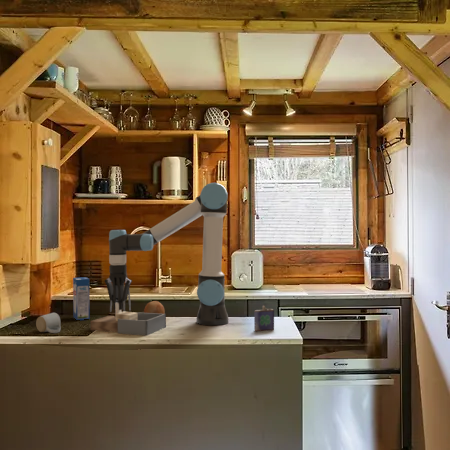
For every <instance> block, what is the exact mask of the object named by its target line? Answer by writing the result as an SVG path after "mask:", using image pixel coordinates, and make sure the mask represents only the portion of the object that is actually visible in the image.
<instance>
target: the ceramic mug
mask: <svg viewBox="0 0 450 450" xmlns="http://www.w3.org/2000/svg"><path fill="white" fill-rule="evenodd" d="M35 325H36V328H37V331H38V332H40V333H47V332H49V333H50V334H57V333H60V332H61V330H62V329H61V317H60V315H59V314H58V313H56V312H50V313H47V314H43V315H41V316H38V317H37V318H36V322H35Z"/></svg>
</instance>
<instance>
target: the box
mask: <svg viewBox="0 0 450 450" xmlns="http://www.w3.org/2000/svg"><path fill="white" fill-rule="evenodd" d="M137 313H138V319H137V320H129V319H118V332H117V334H121V333H122V334H123V335H125V334H126V335H134V336H135V335H137V336H149V335H151V334H154V333H156V332H159V331H160V329H161V330H163V329H165V328H166V327H167V314H166V313H164V314H157V313H144V312H137ZM162 328H163V329H162Z"/></svg>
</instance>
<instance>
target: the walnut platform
mask: <svg viewBox="0 0 450 450" xmlns="http://www.w3.org/2000/svg"><path fill="white" fill-rule="evenodd" d="M95 330H98V331H97V332H109V331H112V332H111V333H118V321H116V315H115V316H114V315H107V316H103V317H100V318H97V319H93V320H90V331H95Z"/></svg>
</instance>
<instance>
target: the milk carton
mask: <svg viewBox="0 0 450 450" xmlns="http://www.w3.org/2000/svg"><path fill="white" fill-rule="evenodd" d="M72 286H73V287H72V293H73V294H72V295H73V296H72V300H73V301H72V303H73V304H72V305H73V309H72V310H73V311H72V312H73V315H72V316H73V319H74V318H75V319H76V320H80V321H85V320H84V319H91V318H90V316H91V315H90V313H91V311H90V309H91V308H90V301H91V300H90V278H88V277H86V276H85V277H81V276H80V277H73V278H72ZM75 319H74V320H75ZM76 320H75V321H76Z"/></svg>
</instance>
